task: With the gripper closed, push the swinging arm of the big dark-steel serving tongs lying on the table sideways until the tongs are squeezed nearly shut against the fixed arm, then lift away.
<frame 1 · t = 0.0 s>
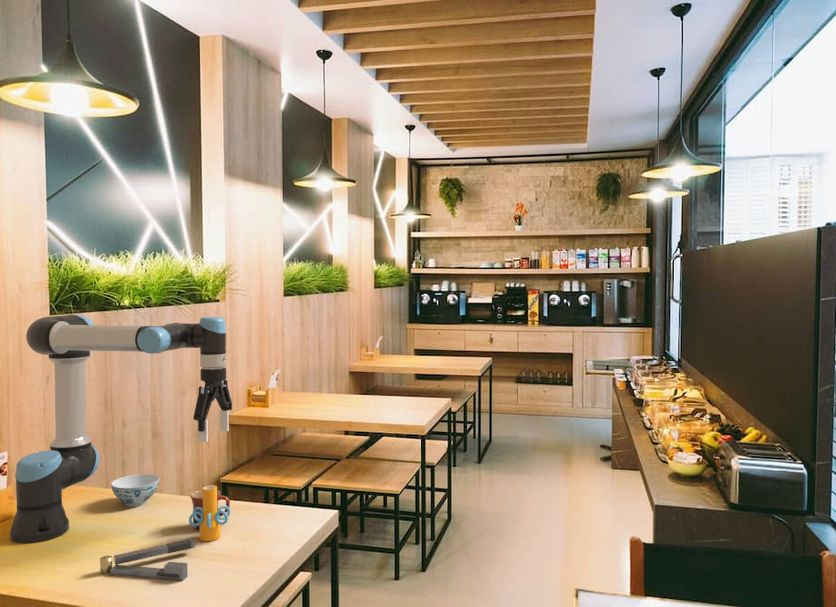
hand: (214, 436, 193), 28 cm above the table, fingers open, 13 cm apart
tongs fixed: (106, 572, 163), on the table
tongs arm: (155, 551, 170), point 3 cm above the table, hinge at 42.0°
chinaware: (135, 503, 214), on the table
cylinder: (210, 538, 185), on the table
mug: (210, 527, 194), on the table
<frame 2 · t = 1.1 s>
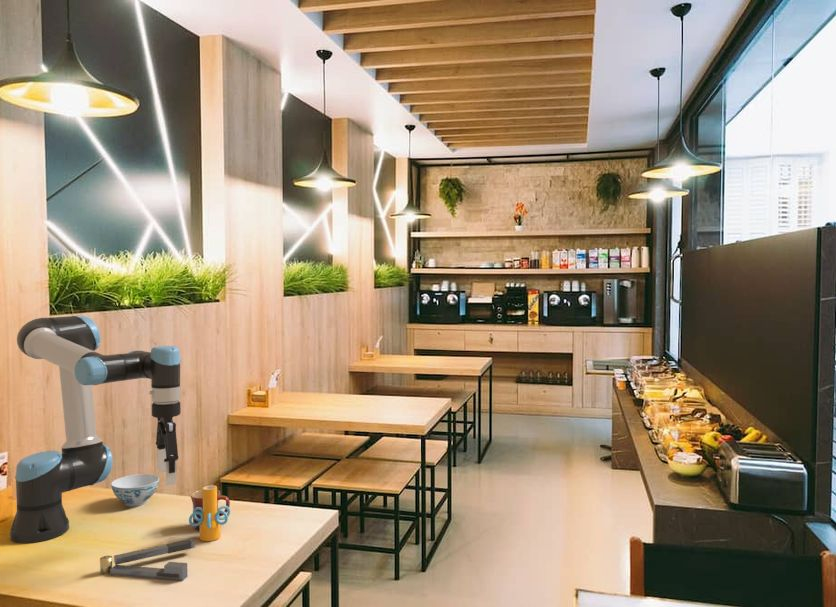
hand: (166, 477, 176), 20 cm above the table, fingers open, 12 cm apart
nothing on the table moved.
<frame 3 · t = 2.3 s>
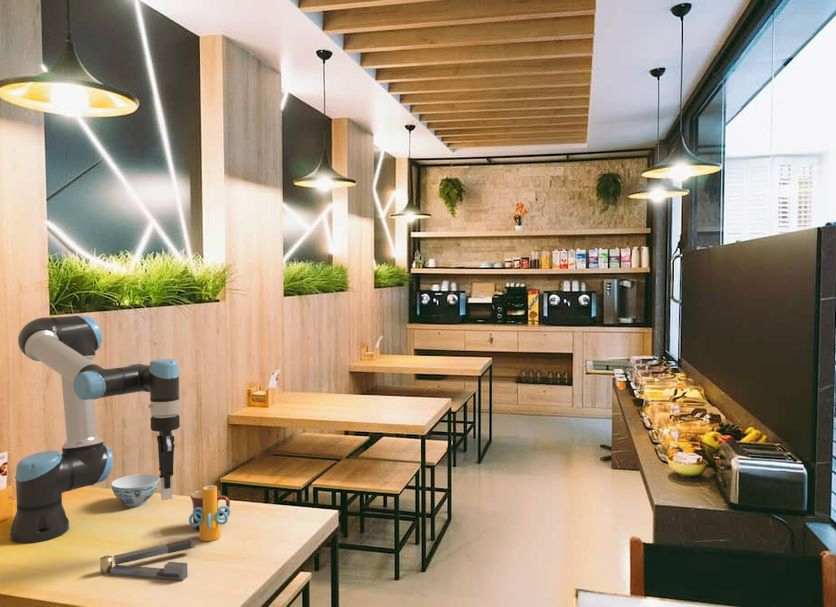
hand: (166, 498, 176), 15 cm above the table, fingers closed
nothing on the table moved.
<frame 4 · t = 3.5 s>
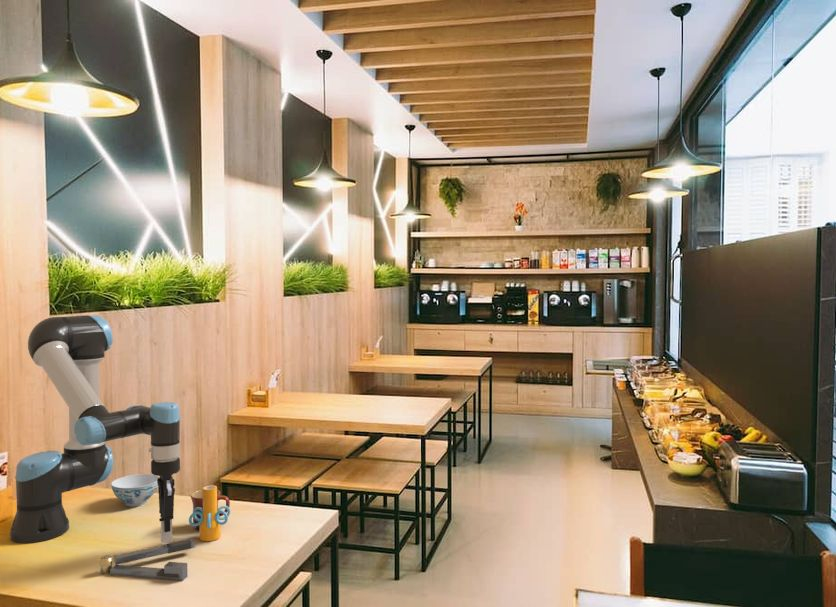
hand: (166, 541, 177), 2 cm above the table, fingers closed
nothing on the table moved.
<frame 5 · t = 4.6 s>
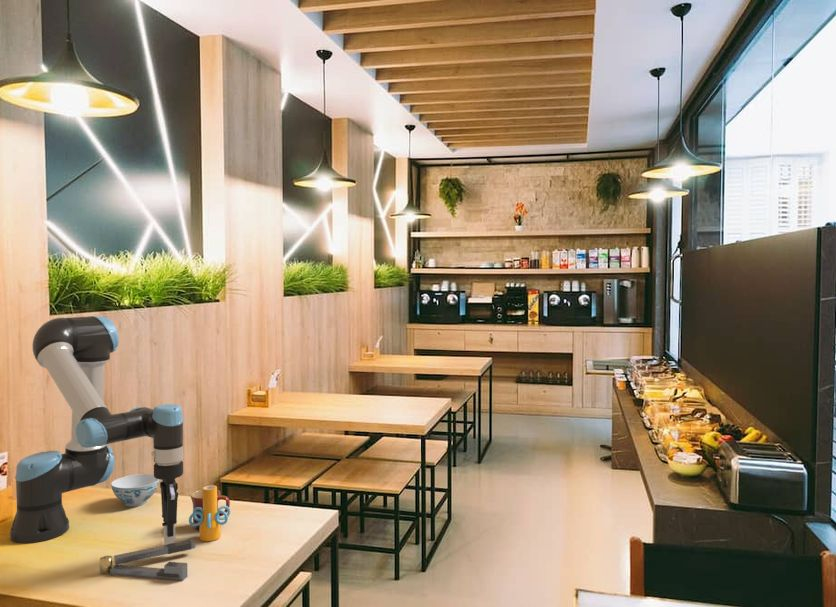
hand: (169, 546, 173), 3 cm above the table, fingers closed
tongs arm: (155, 551, 169), point 3 cm above the table, hinge at 40.6°, touching gripper
everything else where it was.
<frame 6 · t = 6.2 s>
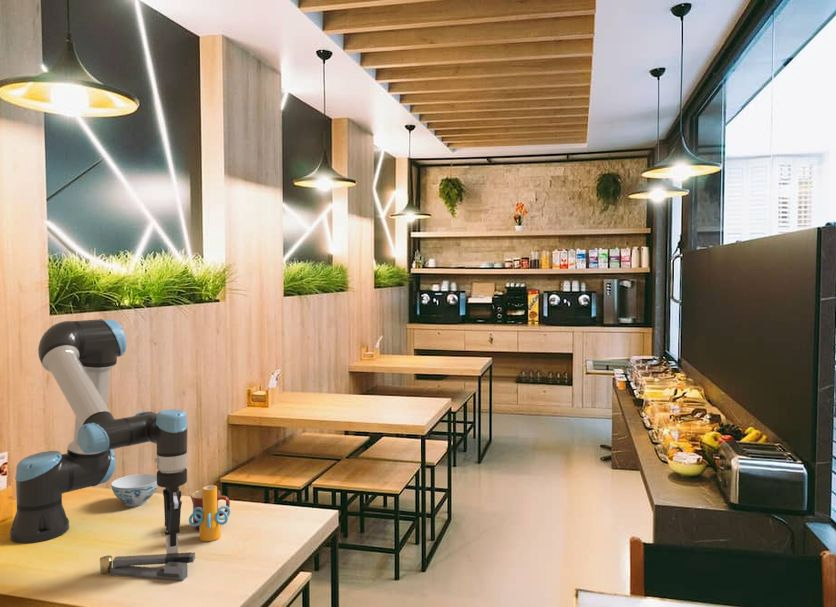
hand: (172, 556, 167), 2 cm above the table, fingers closed
tongs arm: (154, 559, 165), point 3 cm above the table, hinge at 16.5°, touching gripper
everything else where it was.
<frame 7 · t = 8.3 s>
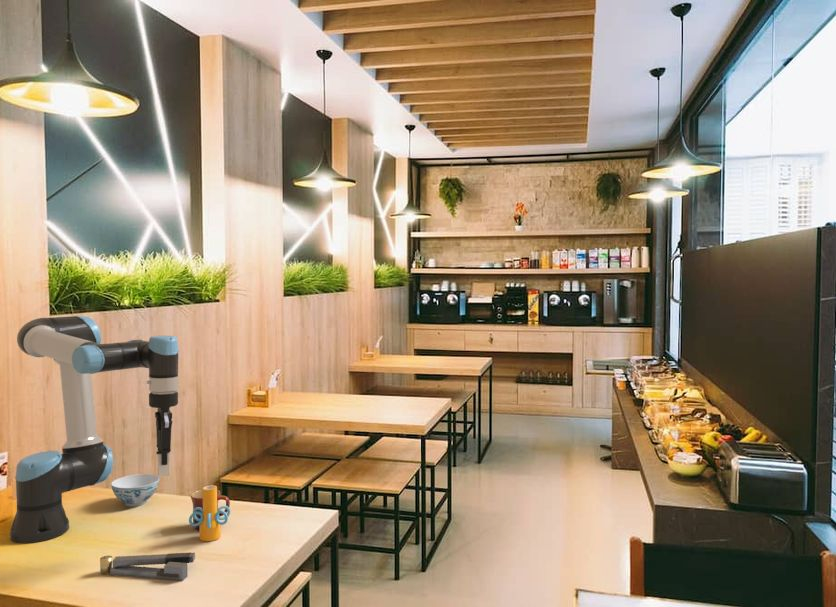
hand: (163, 475, 175), 21 cm above the table, fingers closed
tongs arm: (154, 559, 165), point 3 cm above the table, hinge at 16.3°
everything else where it was.
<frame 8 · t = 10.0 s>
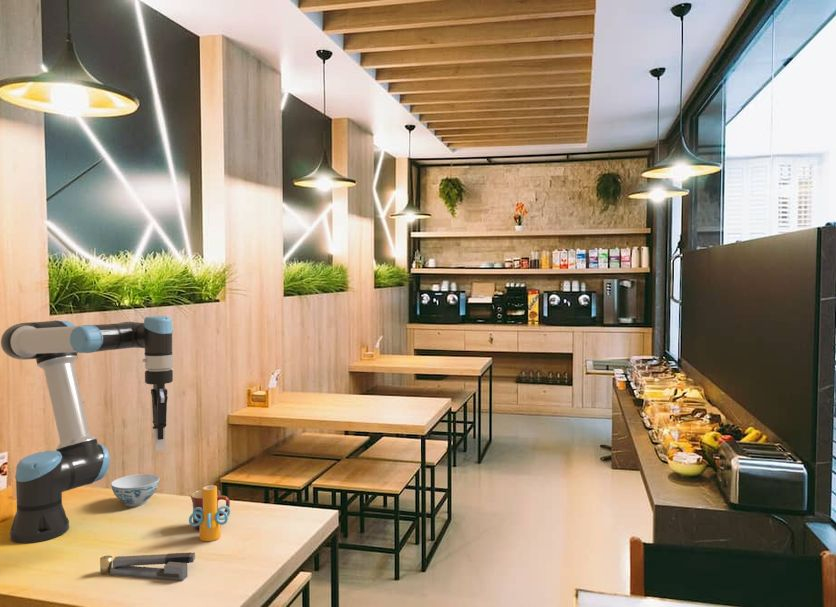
hand: (159, 449, 184), 26 cm above the table, fingers closed
nothing on the table moved.
at the end: tongs arm at +16° (first picture: +42°) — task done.
